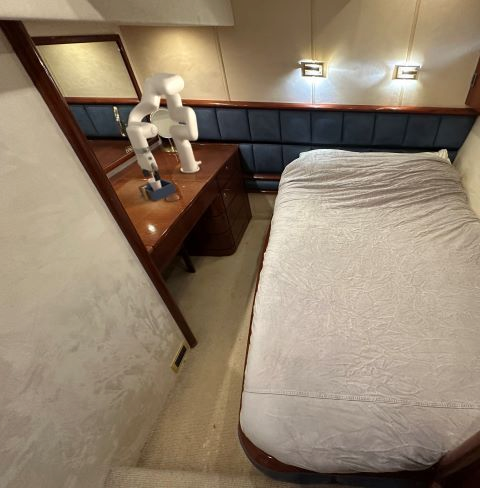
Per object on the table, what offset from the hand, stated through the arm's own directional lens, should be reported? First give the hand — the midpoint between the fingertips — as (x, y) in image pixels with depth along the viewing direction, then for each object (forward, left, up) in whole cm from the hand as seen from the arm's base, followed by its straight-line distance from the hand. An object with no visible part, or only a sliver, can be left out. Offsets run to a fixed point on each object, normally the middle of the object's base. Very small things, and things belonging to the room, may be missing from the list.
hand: (152, 178), depth 157 cm
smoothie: (0, 0, -11) cm, 11 cm away
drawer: (0, 0, -11) cm, 11 cm away
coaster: (-1, +11, -11) cm, 16 cm away
